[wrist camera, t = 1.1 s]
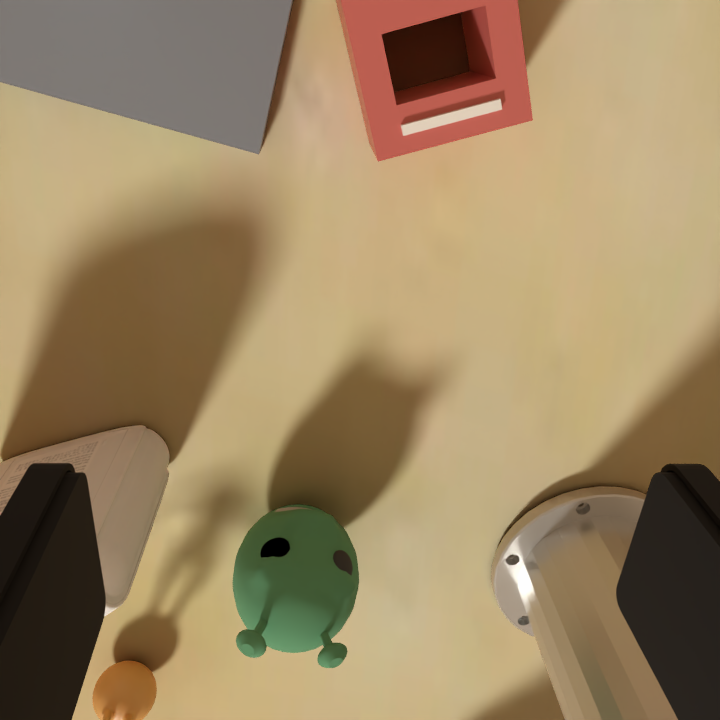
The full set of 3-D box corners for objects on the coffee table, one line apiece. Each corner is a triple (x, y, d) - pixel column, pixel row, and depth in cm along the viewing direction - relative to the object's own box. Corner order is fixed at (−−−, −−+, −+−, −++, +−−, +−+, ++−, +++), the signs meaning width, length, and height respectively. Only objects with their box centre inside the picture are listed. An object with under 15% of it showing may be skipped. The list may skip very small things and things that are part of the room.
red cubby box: (479, -48, 29) (511, -63, 24) (501, 107, 32) (534, 121, 27) (334, -7, 29) (337, -14, 24) (369, 142, 32) (378, 162, 27)
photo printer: (20, 516, 40) (-93, 701, 29) (-17, 459, 38) (-153, 634, 27) (183, 472, 39) (131, 644, 28) (153, 411, 38) (85, 571, 27)
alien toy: (373, 483, 41) (389, 612, 32) (335, 577, 44) (340, 718, 35) (259, 457, 39) (243, 583, 30) (229, 555, 42) (206, 696, 33)
